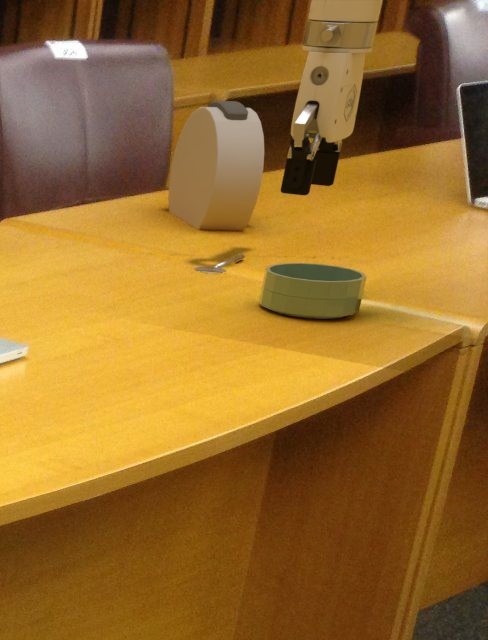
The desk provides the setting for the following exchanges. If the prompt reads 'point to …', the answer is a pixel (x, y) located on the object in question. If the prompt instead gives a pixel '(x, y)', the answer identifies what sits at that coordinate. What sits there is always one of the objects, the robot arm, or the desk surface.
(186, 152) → the alarm clock
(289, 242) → the desk surface
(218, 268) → the spoon
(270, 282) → the bowl
